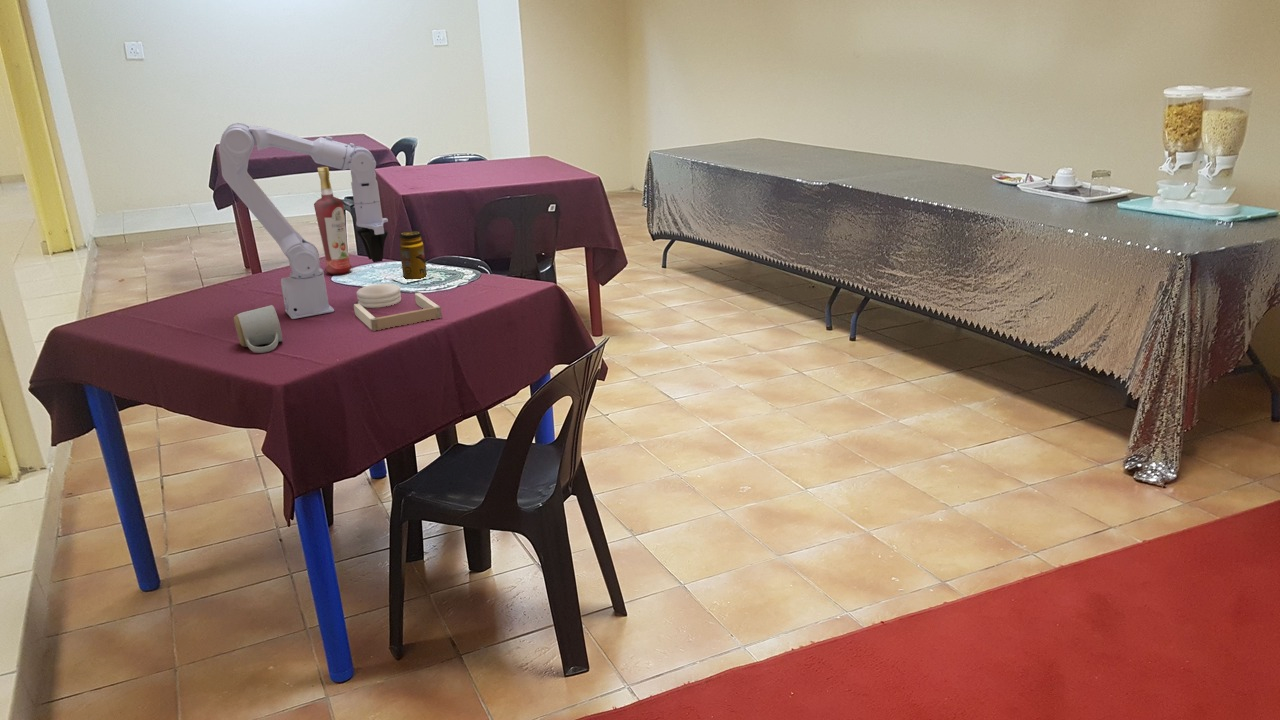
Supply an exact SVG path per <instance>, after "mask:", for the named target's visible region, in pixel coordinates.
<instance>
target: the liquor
mask: <svg viewBox="0 0 1280 720" xmlns="http://www.w3.org/2000/svg"><path fill="white" fill-rule="evenodd" d="M317 175H318V177H319V179H320V194H321V197H320V198H319V199H317V200H315V202H314V203H313V207H314V212H315V217H316V221H317V226H318V230H319V236H320V240H321V244H322V249H323V250H322V251H323V255H324V259H325V260H324V261H325V265H326V267H325V268H324V269H325V271H326V272H328V273H329V274H330V275H332V276H339V275H340V274H341V275H346V274H348V273H349V272H350V271H351V269H352V268H353V266H352V264H351V263H350V256H349V255H350V254H349V248H348V247H349V246H348V238H347V237H348V236H347V227H346V216H345V211H344V210H345V209H344V208H345V207H344V201H343V200H342V199H340V198H338V197H335V196H334V193H333V189H332V185H331V180H330V169H329V166H319V167H317ZM345 273H346V274H345ZM341 275H340V276H341Z"/></svg>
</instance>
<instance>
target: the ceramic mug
mask: <svg viewBox="0 0 1280 720" xmlns="http://www.w3.org/2000/svg"><path fill="white" fill-rule="evenodd" d="M233 322H234V326H235V332H236V334H237V338H238V340H239V343H240V346H242V347H243V348H248V349H249V350H250V351H252V352H253V353H258V354H263V353H264V354H266V353H268V352H271V351H273V350H275V349H276V348H277V346H278V344H279V342H282V341H283V333H282V329H281V324H280V320H279V317H278V314H277V312H276V308H275V306H274V305H272V304H270V305H267V306H264V307H263V306H262V307H259V308H255V309H251V310H246V311H243V312H240V313H238V314H236V315H234V317H233ZM260 345H261V346H260ZM263 345H265V346H263Z"/></svg>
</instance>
